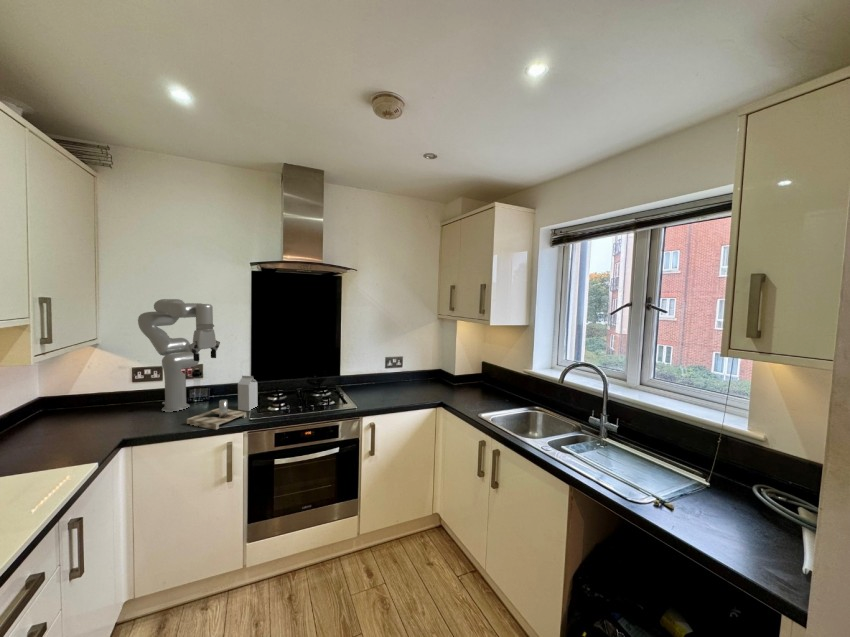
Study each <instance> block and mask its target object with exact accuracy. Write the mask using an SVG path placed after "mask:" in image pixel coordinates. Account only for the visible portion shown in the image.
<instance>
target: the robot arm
mask: <svg viewBox="0 0 850 637" xmlns="http://www.w3.org/2000/svg"><path fill="white" fill-rule="evenodd" d="M153 309H154V310H155V311H146V312H143V313H140V315H139V316H138V317H137V324H138V328H139V329H140V331H141V333H142V334H143V335H145V337H147V339H148V340H149V342H150V343H151V344H152V346H153V347H154V348H155V351H156V352H157V353H158V354H159V356H163V357H162V359H161V366H162V370H163V376H164V377H163V378H164V401H162V403H161V404H162V405H164V407H162V409H161V411H162V412H163V411H165V412H164V413H174V412H173V411H177V412H180V411H179V410H182V411H184V410H183V409H185V410H187V409H186V408H188V407H189V408H190V407H191V406H190V404H189V403H187V382H186V381H187V380H186V378H187V377H186V375H185V373H184V372H183V371H182V370H183V369H188V368H189V369H190V368H193V367H197V366H198V365H199V362H200V351H201V350H207V349H210V358H212V359H216V358H217V351H218V349H219V347H220V344H221V342H220V341H218V340H216V333H215V329H214V327H215V325H214V312H213V311H214V310H213V305H212V304H211V303H201V302H200V303H199V302H198V303H197V302H195V303H194V302H192V303H191V302H187V303H185V302H184V300H182V299H179V298H175V299H174V298H164V299H158V300H157V301H155V302H154V304H153ZM180 318H181V319H182V318H184V319H185V318H195V329H194V330H193V338H192V343H190V341H189V340H188V339H187V338H184V337H176V338H175V337H170V336H169V335H168V333H167V332H166V331H165V330H164V329H162V328H160V327H164V326H167V327H168V326H173V325H175V324H176V323H177V322H178V321H179V319H180ZM189 408H188V409H189Z"/></svg>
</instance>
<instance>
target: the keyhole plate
mask: <svg viewBox="0 0 850 637" xmlns="http://www.w3.org/2000/svg"><path fill="white" fill-rule="evenodd" d="M210 414H213V415H214V414H215V415H219V407H218V408H214V409H212V410H209V411H206V412H203V413H200V414H197V415H194V416H192V417H188V418H186V425H187V424H190V425H189V426H192V425H194V426H193V427H198V426H199V427H198V428H205V429H211V430H218V429H220V425H223V424H222V423H225V422H227V421H230V422H231V421H233V420H234V419H237V418H239V417H242V418H241V419H246V418H247V411H243V410H233V409H229V408H228V416H227V417H224V418H219V417H216V416H210V417H208V416H206V415H210ZM245 417H246V418H245ZM225 424H226V423H225Z"/></svg>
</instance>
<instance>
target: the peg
mask: <svg viewBox="0 0 850 637" xmlns="http://www.w3.org/2000/svg"><path fill="white" fill-rule="evenodd" d="M218 404H219V405H218V408H219V414H218V415H219V416H218V418H224V417H227V416H228V409H229V408H228V407H229V406H228V399H220V400H219V401H218ZM230 422H231V420H230V421H227V422H225V423H222V424H221V425H224V424H228V423H230Z"/></svg>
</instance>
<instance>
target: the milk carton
mask: <svg viewBox="0 0 850 637" xmlns="http://www.w3.org/2000/svg"><path fill="white" fill-rule="evenodd" d="M258 392H259V391H258V381H257V380H256V379H254V375H242V376H241V379H240V380H239V381H238V383H237V411H242V412H250V411H252V410H251V409H253V408H255V407H257V406H259V405H258V402H259V401H258V397H259V396H258ZM257 408H258V407H257ZM255 409H256V408H255ZM253 410H254V409H253Z"/></svg>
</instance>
